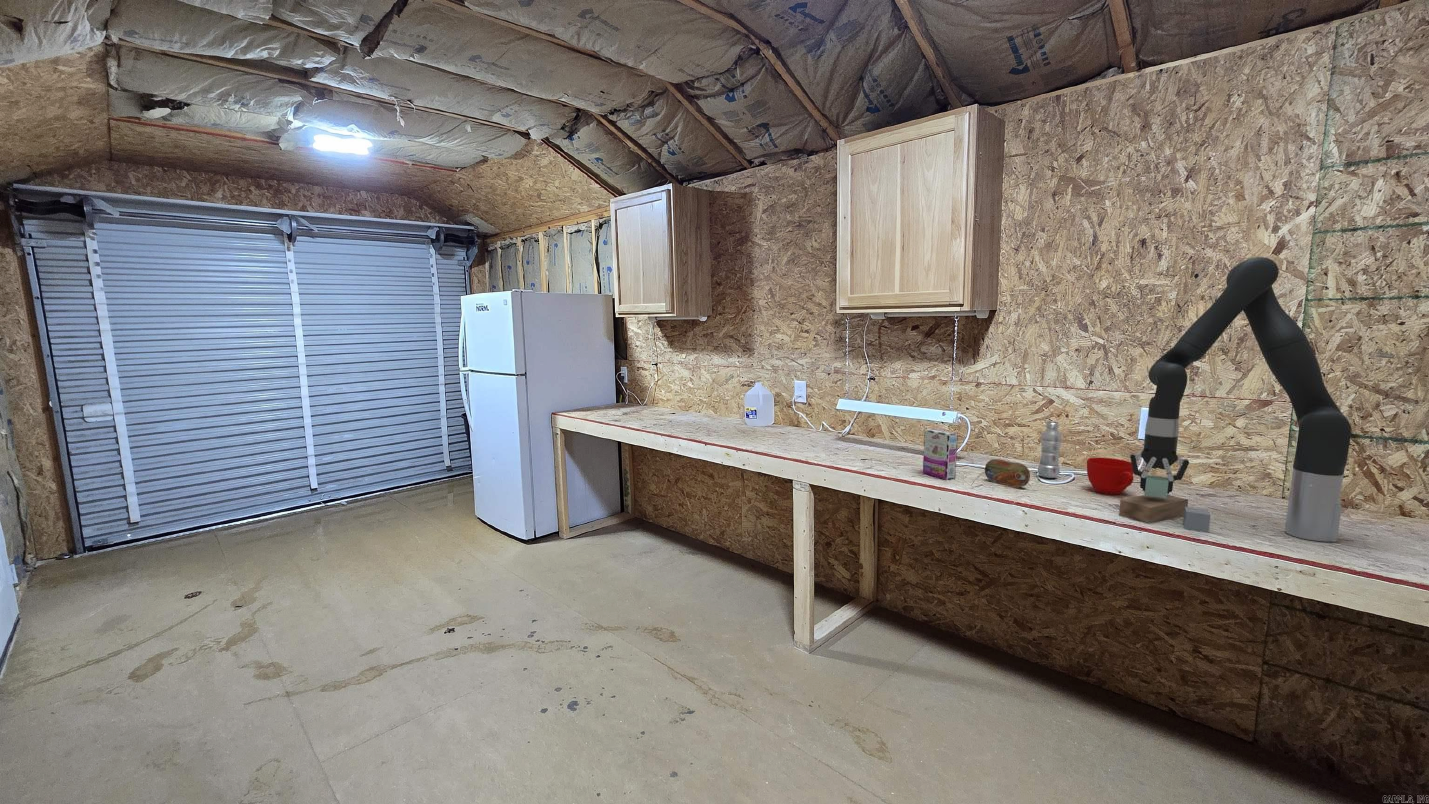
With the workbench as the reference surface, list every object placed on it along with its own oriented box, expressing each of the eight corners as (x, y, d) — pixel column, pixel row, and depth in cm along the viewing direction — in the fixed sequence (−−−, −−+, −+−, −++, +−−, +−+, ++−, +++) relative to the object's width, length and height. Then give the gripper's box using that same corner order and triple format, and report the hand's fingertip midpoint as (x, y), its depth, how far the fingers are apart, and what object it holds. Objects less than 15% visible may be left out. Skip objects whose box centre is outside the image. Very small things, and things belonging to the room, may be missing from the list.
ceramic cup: (1108, 501, 185) (1111, 470, 184) (1076, 486, 202) (1078, 457, 201) (1150, 501, 185) (1153, 470, 184) (1114, 486, 202) (1117, 457, 201)
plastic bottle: (1039, 474, 218) (1043, 420, 215) (1060, 477, 214) (1065, 422, 211) (1035, 477, 213) (1039, 422, 210) (1057, 481, 209) (1061, 424, 206)
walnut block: (1186, 516, 173) (1188, 499, 172) (1148, 525, 165) (1150, 507, 165) (1156, 508, 180) (1158, 492, 179) (1118, 516, 172) (1120, 499, 172)
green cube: (1165, 494, 172) (1167, 477, 172) (1166, 498, 168) (1168, 481, 168) (1144, 491, 175) (1145, 474, 174) (1144, 495, 171) (1146, 478, 170)
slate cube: (1205, 527, 163) (1208, 509, 162) (1208, 533, 158) (1210, 514, 158) (1182, 524, 165) (1184, 506, 165) (1184, 529, 161) (1186, 511, 161)
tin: (983, 480, 210) (984, 456, 209) (988, 479, 212) (990, 455, 210) (1025, 490, 197) (1027, 465, 196) (1030, 489, 199) (1032, 464, 198)
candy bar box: (956, 478, 212) (958, 433, 210) (946, 480, 210) (948, 434, 207) (931, 471, 222) (933, 428, 219) (921, 473, 219) (923, 429, 217)
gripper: (1192, 433, 168) (1185, 492, 171) (1130, 428, 176) (1125, 484, 179) (1195, 438, 162) (1188, 499, 165) (1131, 432, 170) (1125, 490, 172)
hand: (1155, 491), depth 172 cm, fingers closed on green cube, 4 cm apart
